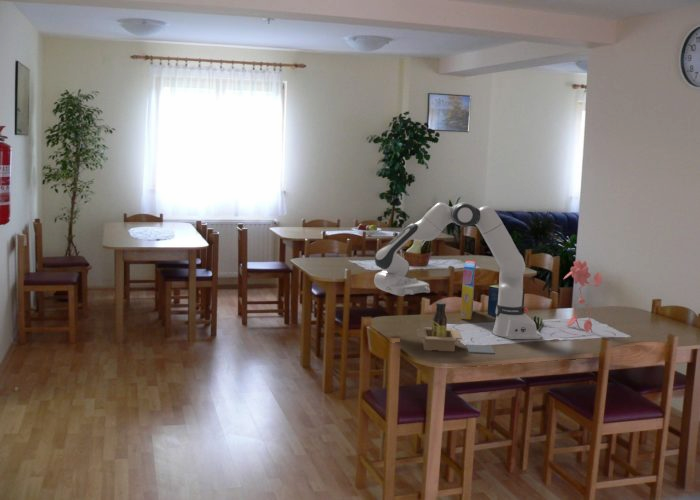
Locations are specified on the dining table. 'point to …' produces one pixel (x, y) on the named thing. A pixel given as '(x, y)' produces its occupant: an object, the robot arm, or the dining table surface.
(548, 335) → the dining table surface
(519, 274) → the robot arm
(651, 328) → the dining table surface
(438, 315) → the sauce bottle
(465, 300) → the game box
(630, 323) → the dining table surface
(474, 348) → the mat
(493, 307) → the protein box
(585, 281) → the pink blossom sprig
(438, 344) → the carton
